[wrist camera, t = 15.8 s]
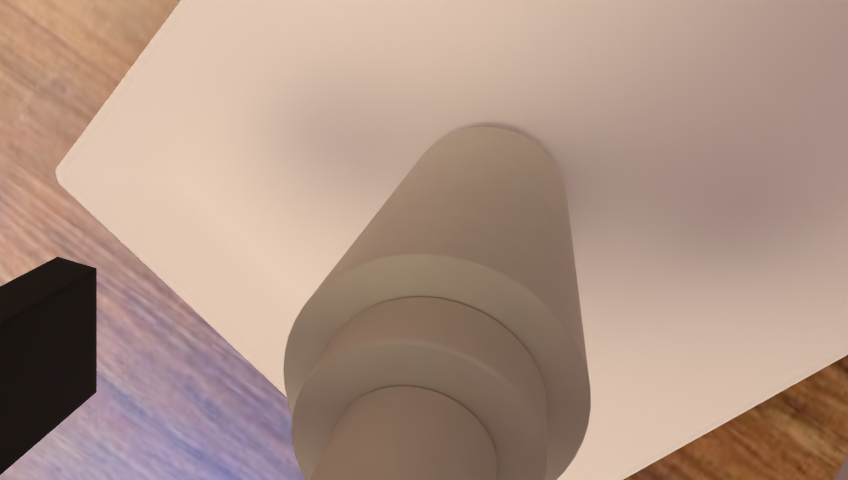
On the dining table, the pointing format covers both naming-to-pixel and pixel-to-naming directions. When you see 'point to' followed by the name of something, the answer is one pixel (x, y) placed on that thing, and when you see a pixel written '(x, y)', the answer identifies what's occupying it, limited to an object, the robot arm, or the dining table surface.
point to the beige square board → (541, 123)
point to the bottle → (448, 328)
